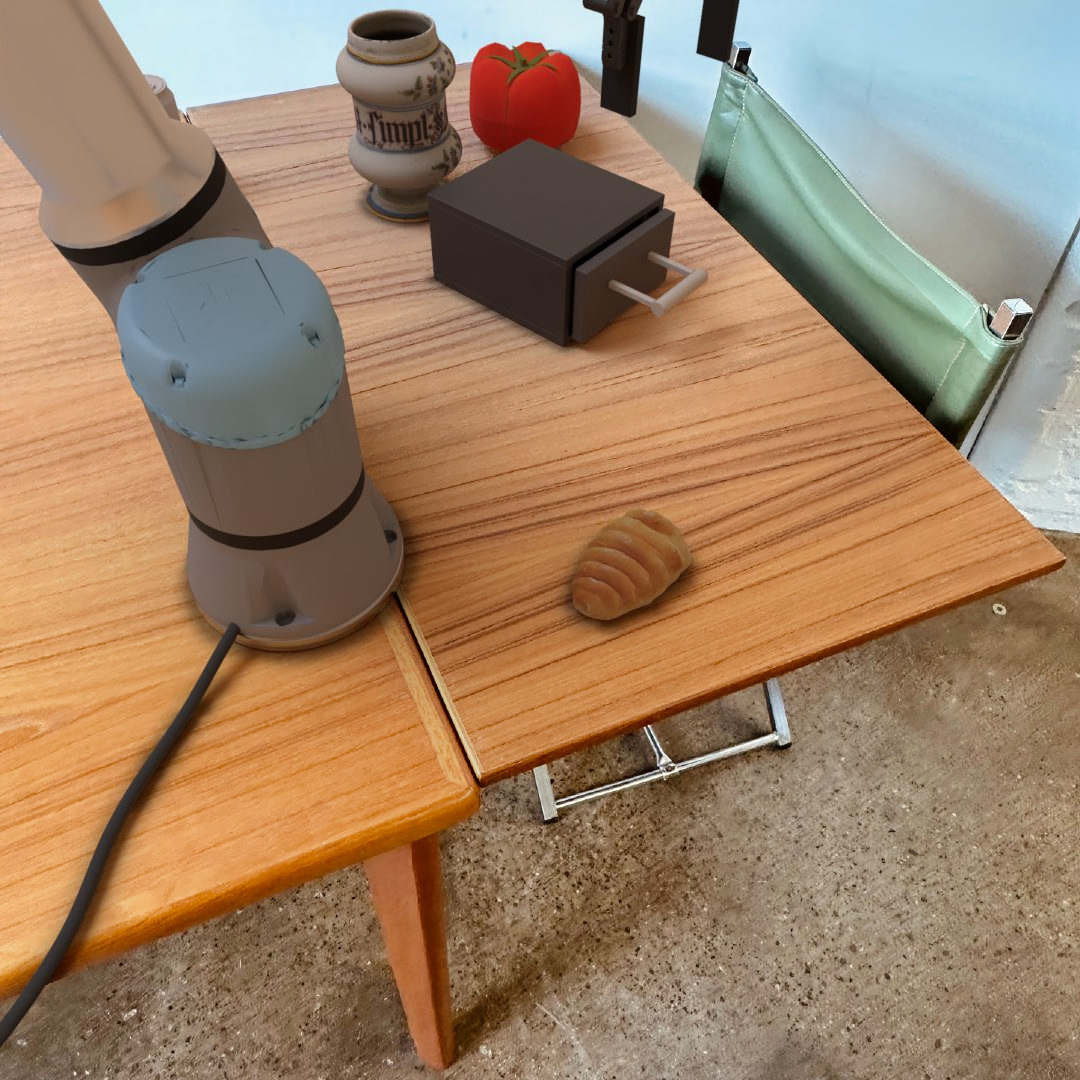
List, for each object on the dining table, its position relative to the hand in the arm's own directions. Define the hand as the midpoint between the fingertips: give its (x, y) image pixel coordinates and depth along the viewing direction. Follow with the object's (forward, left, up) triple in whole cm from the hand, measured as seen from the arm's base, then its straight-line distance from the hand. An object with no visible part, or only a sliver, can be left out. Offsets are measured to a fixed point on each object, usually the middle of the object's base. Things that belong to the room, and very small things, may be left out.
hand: (667, 82), depth 69 cm
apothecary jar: (+2, +33, -23) cm, 40 cm away
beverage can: (-15, +53, -23) cm, 59 cm away
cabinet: (0, +12, -22) cm, 25 cm away
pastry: (-25, -17, -23) cm, 38 cm away
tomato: (+20, +32, -23) cm, 44 cm away
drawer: (0, +6, -21) cm, 22 cm away
